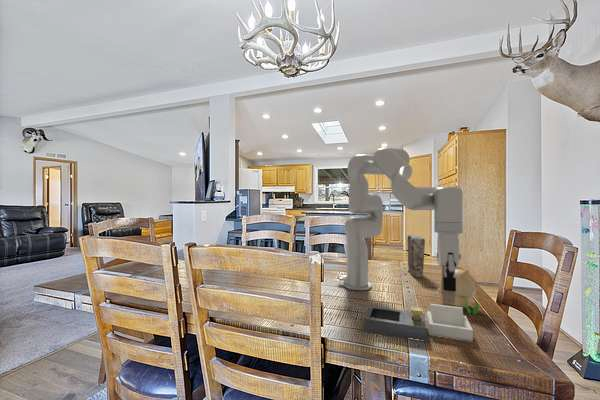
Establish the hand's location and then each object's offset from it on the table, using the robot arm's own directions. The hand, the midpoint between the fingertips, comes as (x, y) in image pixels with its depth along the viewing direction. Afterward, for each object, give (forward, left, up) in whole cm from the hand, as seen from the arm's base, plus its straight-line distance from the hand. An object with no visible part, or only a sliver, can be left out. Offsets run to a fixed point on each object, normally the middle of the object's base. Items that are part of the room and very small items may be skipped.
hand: (448, 287), depth 84 cm
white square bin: (0, 0, -13) cm, 13 cm away
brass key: (-9, -4, -13) cm, 17 cm away
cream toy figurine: (+7, +23, -14) cm, 28 cm away
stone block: (-8, +64, -14) cm, 66 cm away
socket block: (-15, -4, -13) cm, 21 cm away
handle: (0, 0, -5) cm, 5 cm away
